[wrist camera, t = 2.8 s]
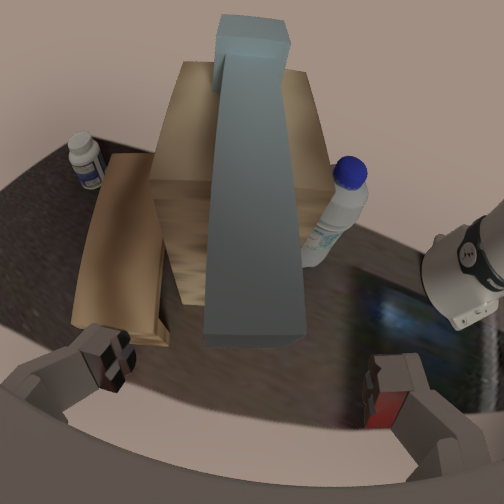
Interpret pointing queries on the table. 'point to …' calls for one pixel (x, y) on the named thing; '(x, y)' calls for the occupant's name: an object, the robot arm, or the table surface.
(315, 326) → the table surface
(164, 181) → the tall stand
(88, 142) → the pill bottle
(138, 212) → the bench
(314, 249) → the bottle
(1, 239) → the table surface
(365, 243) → the table surface
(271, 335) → the rail
